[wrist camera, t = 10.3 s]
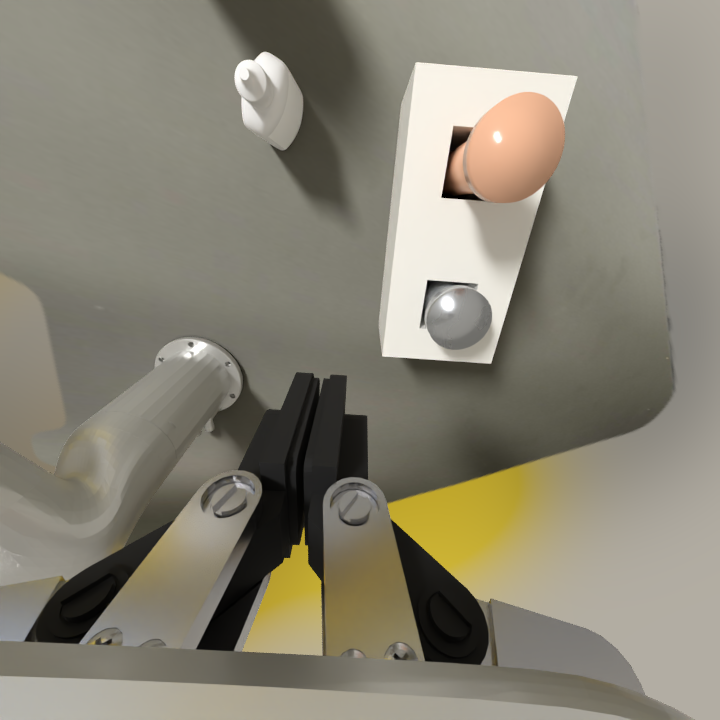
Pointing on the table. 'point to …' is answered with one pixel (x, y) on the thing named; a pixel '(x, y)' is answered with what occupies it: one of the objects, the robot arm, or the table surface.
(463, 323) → the grey plug
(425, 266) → the block
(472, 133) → the terracotta plug
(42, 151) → the table surface
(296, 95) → the eye dropper bottle
